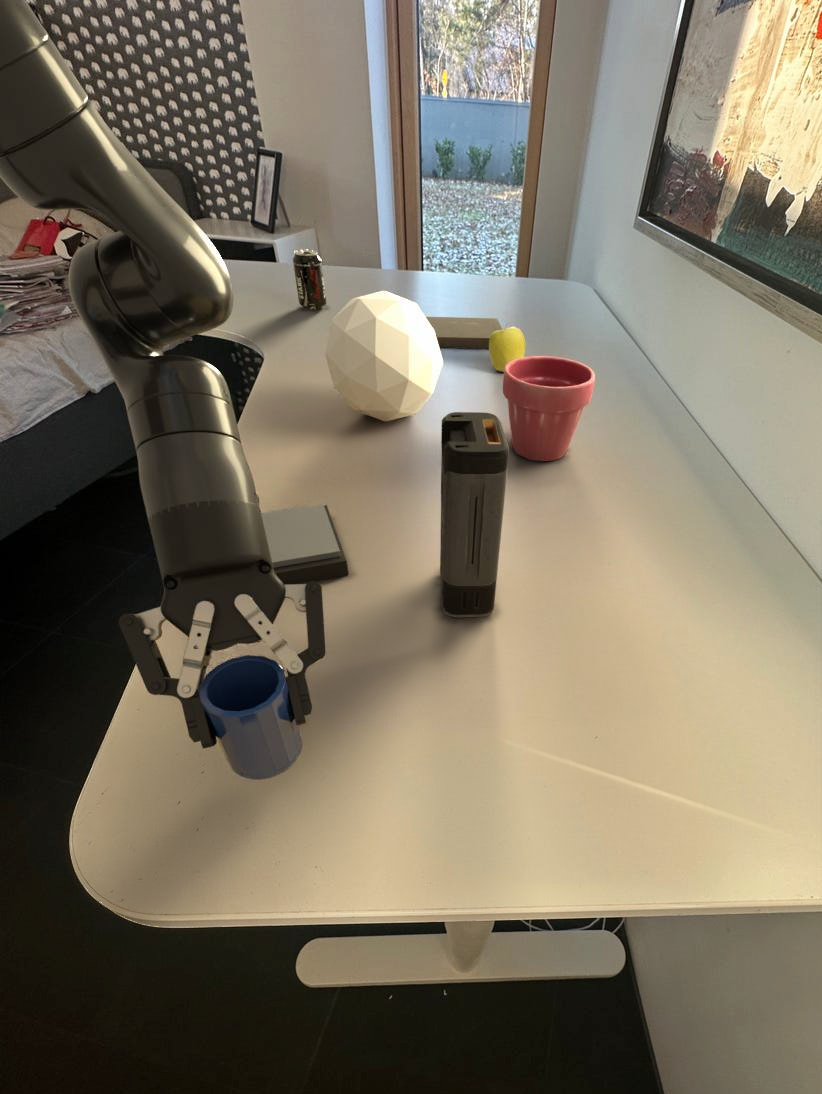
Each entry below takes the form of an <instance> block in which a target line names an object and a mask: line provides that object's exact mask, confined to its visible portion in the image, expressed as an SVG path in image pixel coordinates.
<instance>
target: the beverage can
mask: <svg viewBox="0 0 822 1094" xmlns="http://www.w3.org/2000/svg"><path fill="white" fill-rule="evenodd" d="M293 252H294V253H293V254H294V256H293V258H292V264H293V271H294V278H295V284H296V285H295V286H296V291H297V298H298V303H299V305H300V306H301V307H302V308H304V309H305V310H310V311H318V310H322V309H323V308H325V307H326V305H327V295H326V287H325V280H324V272H323V271H324V270H323V263H322V262H323V261H322V259H321V257H320V256H319V251H316V250H314V249H296V250H294V251H293Z"/></svg>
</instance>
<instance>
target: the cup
mask: <svg viewBox="0 0 822 1094" xmlns="http://www.w3.org/2000/svg"><path fill="white" fill-rule="evenodd" d="M286 677H287V676H286V672H285V670H284V668H283V667H282V666H281V665H280V663H278V661H276V660H274V659H272V658H269V657H267V656H265V655H254V654H253V655H251V654H247V655H243V656H236V657H231V658H229V659H228V660H226V661H224V662H221V663H219V664H217V665H216V666H215V667H213V669H211V670H210V671H209V672H208V673H207V674H205V677H204V680H203V682H202V684H201V686H200V689H199V692H200V701H201V704H202V706H203V708H204V710H205V713H206V715H207V717H208V719H209V722H210V724H211V726H212V729H213V731H214V733H215V735H216V740H217V742H218V744H219V746H220V749H221V751H222V753H223V756H224V758H225V760H226V762H227V764H228V765H229V767H230V769H231V770H232V771H233V772H234V773H235V774H236V775H238V776H240V777H241V778H244V779H248V780H252V781H253V780H256V781H258V780H260V781H261V780H266V779H271V778H274V777H277V776H279V775H281V774H283V773H284V772H286V771H287V770H289V769H290V768H291V767H292V766H293V765H294V764H295V763H296V762H297V760H298V759H299V757H300V755H301V752H302V749H303V737H302V734H301V729H300V725H296V721H295V717H294V713H293V709H292V704H291V700H290V695H289V691H288V686H287V681H286Z"/></svg>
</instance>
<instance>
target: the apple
mask: <svg viewBox="0 0 822 1094" xmlns="http://www.w3.org/2000/svg"><path fill="white" fill-rule="evenodd" d="M507 326H508V324H506V326H505V328H504V329H503V328H502V330H498V331H495V332H493V333H492V335H491V337H490V340H489V349H488V351H489V352H488V353H489V356H490V361H491V364H492V366H493V368H494V370H496V371H497V372H502V373H504V369H505V366H506V365H507V364H508V363H509V362H511V361H513V360H515V359H518V358H523V357H525V354H526V340H525V335H524V333H523V332H522V330H521V329H520V328H518V327H516V326H510V327H507Z"/></svg>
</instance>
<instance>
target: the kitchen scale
mask: <svg viewBox="0 0 822 1094" xmlns="http://www.w3.org/2000/svg"><path fill="white" fill-rule="evenodd" d="M261 516H262V520H263V524H264V528H265V533H266V537H267V541H268V546H269V550H270V554H271V559H272V563H273V568H274V572H275V574H276V575H277V577H278V578H279V579H280V580H281V581H282V582H283V584H284V585H287V584H307V583H308V582H310V581H316V582H318V581H322V580H323V581H324V580H328V579H333V578H334V579H335V578H339V577H345V576H349V568H348V561H347V557H346V554H345V552H344V550H343V546H342V544H341V541H340V538H339V535H338V533H337V530H336V527H335V525H334V522H333V518H332V516H331V513H330V511H329V508H328V505H327V504H324V503H321V504H320V503H319V504H313V505H307V506H299V507H293V508H287V509H279V510H271V511H265V512H261Z"/></svg>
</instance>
